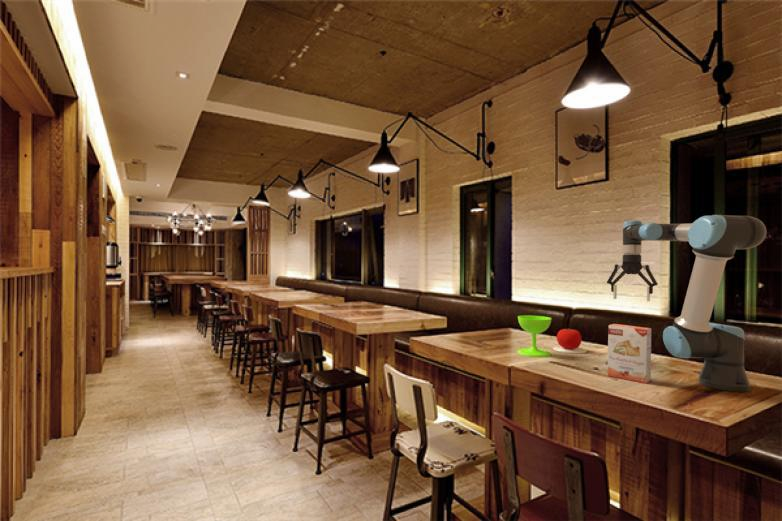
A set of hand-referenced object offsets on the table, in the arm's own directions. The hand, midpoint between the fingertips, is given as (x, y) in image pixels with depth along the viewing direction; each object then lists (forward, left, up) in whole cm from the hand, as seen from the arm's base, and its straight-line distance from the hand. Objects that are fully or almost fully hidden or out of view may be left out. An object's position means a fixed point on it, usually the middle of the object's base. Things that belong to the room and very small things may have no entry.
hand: (631, 300), depth 191 cm
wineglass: (-14, +40, -29) cm, 51 cm away
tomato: (+6, +29, -28) cm, 41 cm away
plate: (+6, +29, -29) cm, 41 cm away
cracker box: (-32, -5, -29) cm, 43 cm away
